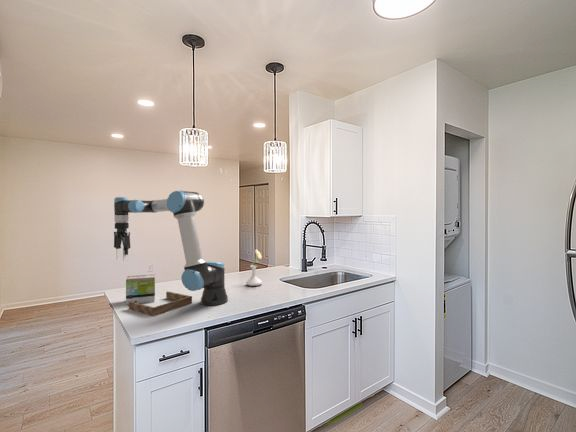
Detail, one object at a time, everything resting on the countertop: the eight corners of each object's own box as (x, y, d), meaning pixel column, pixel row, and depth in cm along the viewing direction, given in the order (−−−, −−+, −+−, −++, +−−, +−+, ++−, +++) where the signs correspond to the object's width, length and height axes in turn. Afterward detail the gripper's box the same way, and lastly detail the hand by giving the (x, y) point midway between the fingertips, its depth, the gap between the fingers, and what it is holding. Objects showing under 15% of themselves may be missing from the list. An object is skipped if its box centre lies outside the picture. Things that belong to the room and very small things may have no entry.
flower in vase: (255, 287, 203) (254, 251, 203) (242, 285, 209) (242, 250, 209) (266, 283, 214) (266, 249, 214) (254, 282, 220) (254, 248, 220)
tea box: (125, 305, 167) (125, 279, 167) (127, 300, 176) (127, 275, 176) (155, 302, 173) (154, 276, 173) (155, 297, 182) (154, 273, 182)
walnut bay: (192, 303, 170) (191, 296, 170) (153, 316, 149) (153, 308, 149) (168, 297, 181) (167, 291, 181) (128, 309, 160) (128, 301, 160)
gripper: (136, 222, 182) (137, 259, 182) (118, 221, 192) (119, 257, 193) (124, 222, 176) (125, 261, 176) (106, 222, 186) (107, 259, 186)
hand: (122, 259), depth 184 cm, fingers open, 6 cm apart
